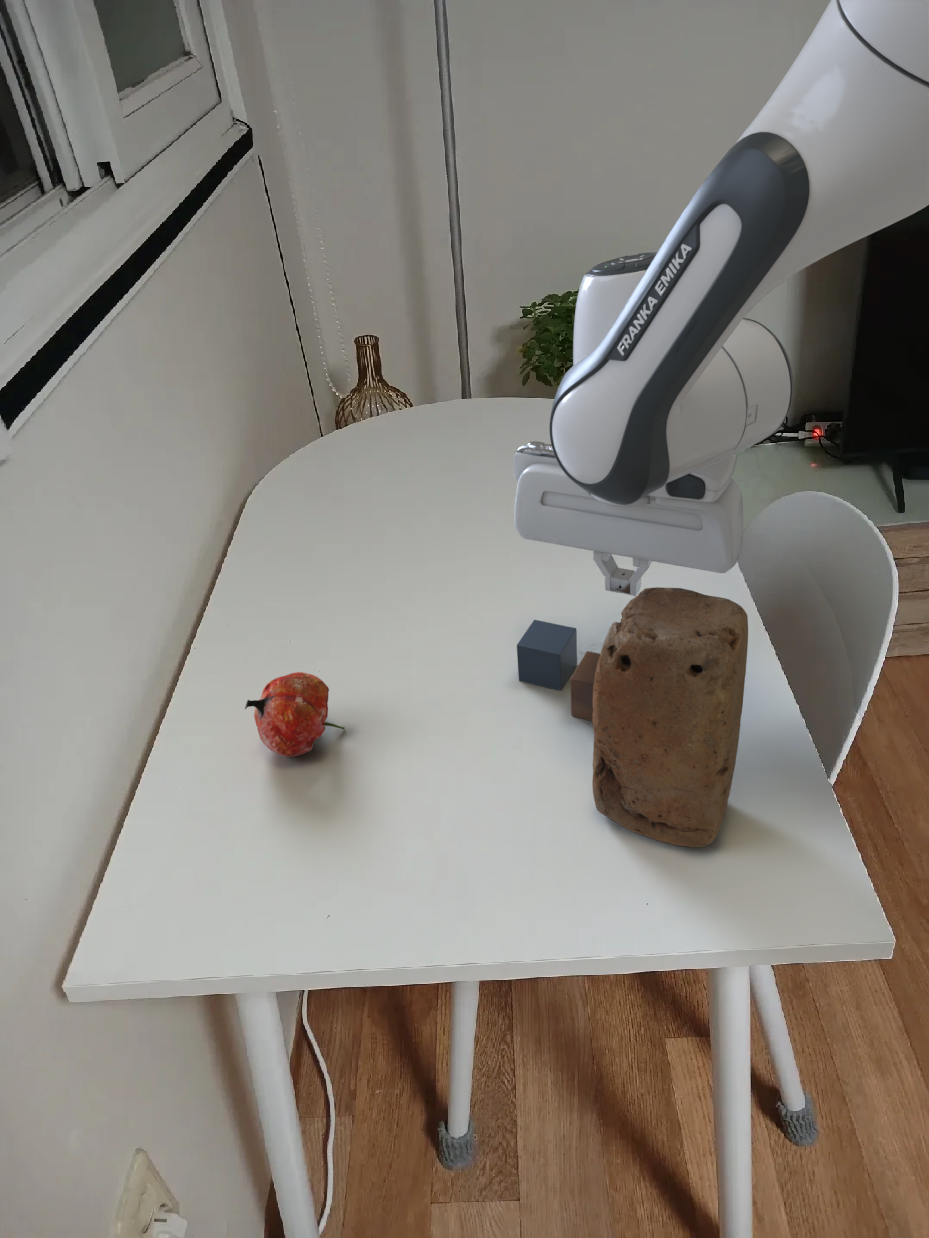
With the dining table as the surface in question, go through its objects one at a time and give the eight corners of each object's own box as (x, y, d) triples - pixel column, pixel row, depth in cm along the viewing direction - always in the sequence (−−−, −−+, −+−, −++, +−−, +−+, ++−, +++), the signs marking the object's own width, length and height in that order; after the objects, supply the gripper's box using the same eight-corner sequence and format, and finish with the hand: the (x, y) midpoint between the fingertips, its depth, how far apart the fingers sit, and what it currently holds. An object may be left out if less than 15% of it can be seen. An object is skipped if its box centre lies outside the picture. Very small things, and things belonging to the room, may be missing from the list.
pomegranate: (324, 724, 93) (228, 694, 88) (361, 675, 89) (264, 641, 85) (328, 783, 87) (227, 755, 83) (369, 733, 84) (265, 700, 79)
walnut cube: (631, 697, 89) (632, 660, 87) (616, 727, 86) (617, 689, 83) (587, 687, 91) (586, 650, 88) (570, 715, 88) (570, 678, 85)
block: (736, 797, 78) (760, 595, 66) (716, 864, 73) (738, 657, 61) (609, 765, 82) (611, 569, 71) (580, 826, 77) (577, 626, 65)
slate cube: (577, 664, 94) (576, 628, 91) (561, 691, 91) (560, 654, 88) (535, 654, 96) (534, 619, 93) (518, 680, 92) (516, 644, 90)
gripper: (498, 454, 82) (506, 587, 90) (739, 487, 74) (724, 631, 82) (526, 424, 86) (531, 554, 94) (756, 453, 78) (740, 592, 86)
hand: (623, 590), depth 88 cm, fingers closed
